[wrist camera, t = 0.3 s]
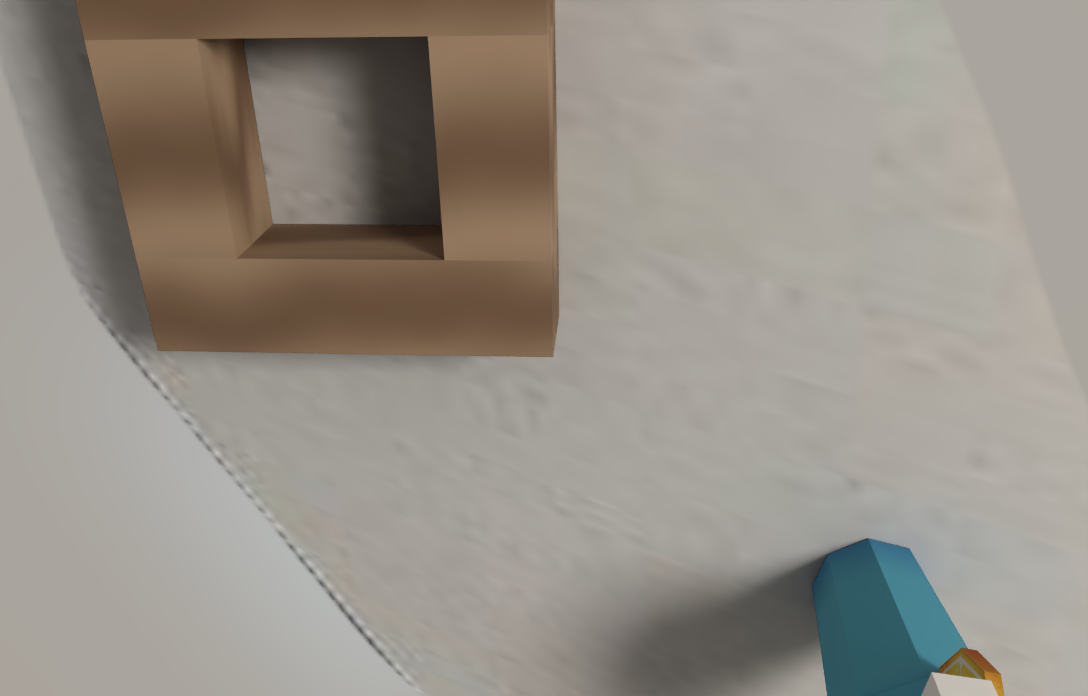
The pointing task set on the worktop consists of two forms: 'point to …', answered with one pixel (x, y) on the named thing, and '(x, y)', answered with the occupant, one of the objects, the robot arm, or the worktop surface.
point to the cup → (886, 625)
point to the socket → (321, 249)
